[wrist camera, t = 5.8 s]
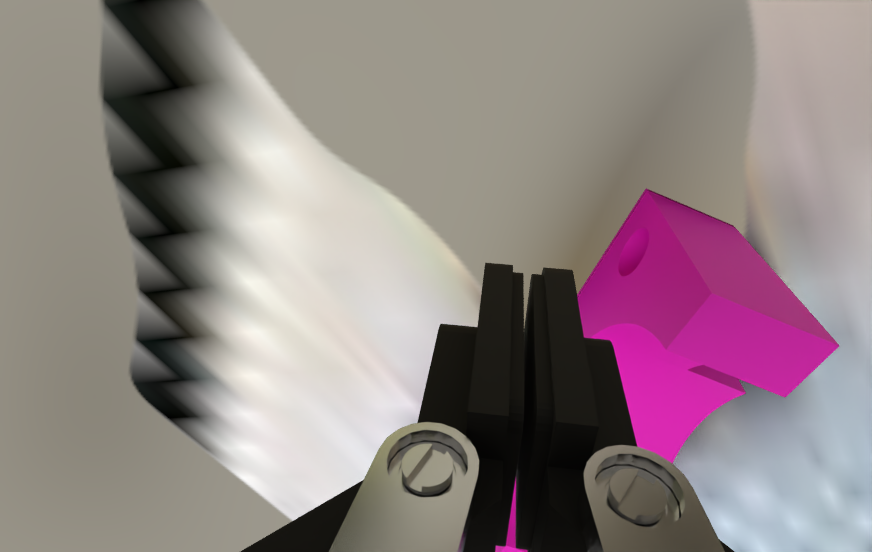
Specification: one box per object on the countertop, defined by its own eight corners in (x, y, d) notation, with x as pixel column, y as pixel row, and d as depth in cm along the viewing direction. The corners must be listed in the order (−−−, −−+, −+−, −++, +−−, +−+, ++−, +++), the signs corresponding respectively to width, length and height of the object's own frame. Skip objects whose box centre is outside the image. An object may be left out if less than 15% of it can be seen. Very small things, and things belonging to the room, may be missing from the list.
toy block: (593, 476, 28) (617, 628, 21) (485, 436, 27) (477, 580, 21) (789, 249, 20) (921, 379, 14) (645, 188, 20) (711, 293, 13)
